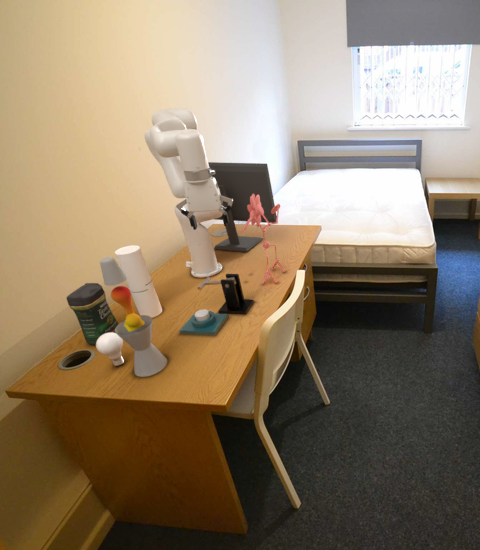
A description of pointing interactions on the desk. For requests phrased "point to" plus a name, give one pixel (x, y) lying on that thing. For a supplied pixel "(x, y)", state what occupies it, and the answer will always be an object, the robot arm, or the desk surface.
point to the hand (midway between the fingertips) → (211, 226)
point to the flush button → (202, 315)
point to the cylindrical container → (139, 280)
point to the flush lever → (213, 282)
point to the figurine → (255, 217)
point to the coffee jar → (92, 311)
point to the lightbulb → (111, 347)
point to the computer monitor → (243, 199)
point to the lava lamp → (133, 323)
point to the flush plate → (204, 325)
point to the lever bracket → (234, 297)
